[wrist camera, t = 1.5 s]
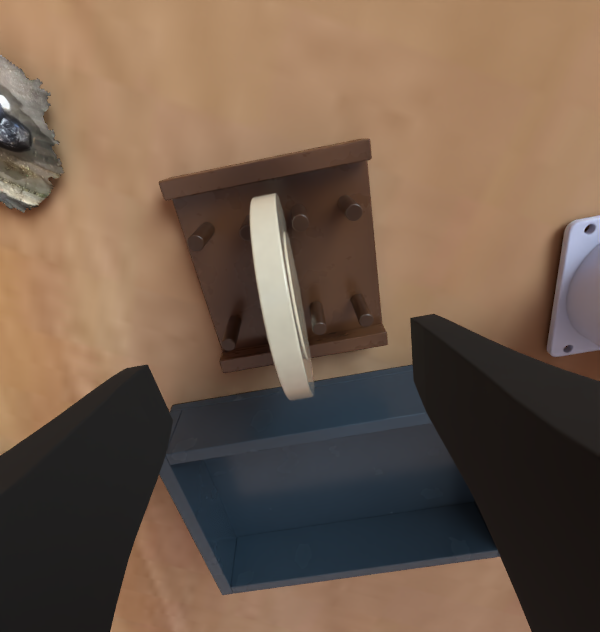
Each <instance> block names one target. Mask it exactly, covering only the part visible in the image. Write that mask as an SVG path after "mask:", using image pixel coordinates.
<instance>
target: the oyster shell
mask: <svg viewBox="0 0 600 632" xmlns="http://www.w3.org/2000/svg"><path fill="white" fill-rule="evenodd" d="M41 84H43V83H42V82H40V79H38V78H37V80H28V78H26V77H25V75H24V72H23V71H22V70H21V69H18V67H15V65H14V64H12V63H11V62H9V61H8V60H6V59H5V57H2V55H0V202H3V203H5V205H6V206H7V207H8V208H10V209H12V208H17V210H18V209H19V210H20V211H22V212H23V213H24V212H25V210H26V208H28V209H29V210H31V208H33V207H38V206H37V205H40V204H38V203H41V202H42V200H44V199H45V198H48V197H47V196H49V193H51V192H50V191H51V189H53V188H52V187H54V186H53V185H52V184H51V181H48V178H49V177H53V179H54V178H59V177H60V176H61V174H60V173H64V172H63V168H62V167H61V164H62V163H61V161H60V159H59V158H58V159H57V156H56V154H55V153H54V151H53V150H52V146H54V145H55V144H56V143H57V144H58V145H59V143H60V142H58V141H55V140H54V137H55V133H54V131H53V130H52V131H51V130H49V129H48V127H47V123H45V122H44V118H43V115H44V111H47V109H48V107H49V106H51V105H50V103H48V102H47V99H48V97H47V96H50V93H48V92H47V91H45V90H44V89H40V88H39V86H40V85H41ZM47 106H48V107H47ZM23 200H24V201H23Z"/></svg>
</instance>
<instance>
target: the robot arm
mask: <svg viewBox="0 0 600 632" xmlns="http://www.w3.org/2000/svg"><path fill="white" fill-rule="evenodd" d="M588 225H589V226H590V227H589V229H588V230H587V231H586V232H585V231H584V230H585V228H586V227H587V226H588ZM410 319H411V339H412V359H413V379H414V383H415V385H416V388H417V391H418V393H419V396H420V398H421V401H422V403H423V406H424V408H425V410H426V413H427V415H428V416H429V418H430V420H431V422H432V424H433V425H434V427H435V429H436V431H437V433H438V434H439V436H440V438H441V440H442V442H443V443H444V445H445V447H446V449H447V450H448V452H449V454H450V456H451V457H452V459H453V461H454V463H455V465H456V466H457V468H458V470H459V472H460V473H461V475H462V477H463V479H464V480H465V482H466V484H467V486H468V488H469V489H470V491H471V493H472V495H473V497H474V499H475V501H476V503H477V505H478V507H479V509H480V512H481V514H482V516H483V518H484V521H485V523H486V525H487V527H488V530H489V532H490V534H491V536H492V538H493V541H494V543H495V545H496V547H497V550H498V552H499V554H500V557H501V559H502V561H503V564H504V566H505V568H506V571H507V573H508V576H509V578H510V580H511V583H512V585H513V587H514V590H515V592H516V594H517V597H518V599H519V601H520V604H521V606H522V609H523V611H524V614H525V616H526V619H527V621H528V624H529V626H530V628H531V631H532V632H600V381H597V380H594V379H591V378H588V377H585V376H581V375H578V374H575V373H572V372H569V371H566V370H563V369H560V368H558V367H555V366H552V365H549V364H547V363H544V362H542V361H539V360H537V359H534V358H531V357H529V356H526V355H524V354H521V353H519V352H517V351H514V350H512V349H510V348H507V347H505V346H503V345H500V344H498V343H496V342H494V341H491V340H489V339H487V338H485V337H483V336H481V335H479V334H476V333H474V332H472V331H470V330H468V329H466V328H464V327H462V326H460V325H458V324H456V323H453V322H451V321H449V320H447V319H445V318H443V317H440V316H438V315H435V314H431V315H425V316H420V317H414V318H410ZM567 345H568V346H567ZM566 346H567V347H566ZM565 347H566V348H565ZM596 350H600V215H599V216H593V217H588V218H582V219H577V220H574V221H572V222H570V223H569V224H568V225H567V226H566V228H565V231H564V237H563V243H562V250H561V257H560V263H559V270H558V277H557V283H556V290H555V297H554V303H553V310H552V317H551V323H550V330H549V337H548V343H547V352H548V353H549V354H550V355H551V356H553V357H560V356H566V355H572V354H578V353H584V352H590V351H596ZM172 424H173V419H172V417H171V415H170V413H169V411H168V408H167V406H166V404H165V402H164V400H163V397H162V395H161V393H160V391H159V388H158V386H157V384H156V382H155V380H154V377H153V375H152V373H151V371H150V369H149V366H148V365H142V366H137V367H131V368H126V369H124V370H123V371H121V372H119V373H117V374H116V375H114V376H113V377H111V378H110V379H108V380H107V381H105V382H104V383H102V384H101V385H100V386H98V387H97V388H95V389H94V390H93V391H91V392H90V393H89V394H87V395H86V396H85V397H83V398H82V399H80V400H79V401H78V402H76V403H75V404H74V405H72V406H71V407H70V408H68V409H67V410H65V411H64V412H63V413H61V414H60V415H59V416H57V417H56V418H54V419H53V420H52V421H50V422H49V423H47V424H46V425H44V426H43V427H42V428H40V429H39V430H37V431H36V432H34V433H33V434H32V435H30V436H29V437H27V438H26V439H24V440H23V441H21V442H20V443H19V444H17V445H16V446H14V447H13V448H11V449H10V450H8V451H7V452H5V453H4V454H2V455H1V456H0V632H110V630H111V625H112V621H113V617H114V613H115V609H116V604H117V601H118V597H119V593H120V589H121V586H122V582H123V578H124V574H125V570H126V567H127V563H128V559H129V556H130V553H131V550H132V547H133V544H134V541H135V538H136V535H137V532H138V530H139V527H140V524H141V522H142V519H143V516H144V514H145V511H146V508H147V506H148V503H149V500H150V497H151V495H152V492H153V489H154V487H155V484H156V481H157V478H158V476H159V473H160V470H161V467H162V465H163V462H164V459H165V456H166V452H167V448H168V444H169V439H170V434H171V429H172Z"/></svg>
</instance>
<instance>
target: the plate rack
mask: <svg viewBox="0 0 600 632" xmlns="http://www.w3.org/2000/svg"><path fill="white" fill-rule="evenodd" d="M371 158H372V156H371V145H370V139H358V140H353V141H348V142H343V143H338V144H333V145H328V146H323V147H318V148H313V149H309V150H304V151H299V152H294V153H289V154H284V155H279V156H274V157H269V158H264V159H259V160H255V161H250V162H245V163H240V164H235V165H230V166H225V167H220V168H215V169H210V170H206V171H201V172H196V173H191V174H186V175H181V176H176V177H171V178H168V179H165V180H162V181H159V185H160V188H161V191H162V194H163V197H164V200H166V201H167V200H171V199H172V200H173V203H174V206H175V209H176V212H177V215H178V218H179V221H180V224H181V227H182V230H183V233H184V236H185V239H186V242H187V245H188V248H189V251H190V254H191V258H192V261H193V264H194V267H195V270H196V273H197V276H198V279H199V282H200V285H201V288H202V291H203V294H204V297H205V300H206V303H207V306H208V309H209V312H210V315H211V318H212V321H213V324H214V327H215V330H216V333H217V336H218V339H219V342H220V345H221V348H222V351H223V352H222V355H221V359H220V364H221V367H222V370H223V373H227V372H233V371H239V370H244V369H250V368H256V367H262V366H268V365H273V364H274V362H273V359H272V355H271V351H270V347H269V343H268V339H267V335H266V330H265V326H264V321H263V316H262V311H261V306H260V301H259V295H258V290H257V284H256V277H255V271H254V264H253V256H252V247H251V237H250V221H249V212H250V202H251V199H252V198H253V197H255V196H260V195H265V194H270V193H277V195H278V197H279V199H280V202H281V205H282V209H283V213H284V217H285V221H286V225H287V229H288V234H289V238H290V243H291V247H292V252H293V257H294V262H295V267H296V272H297V277H298V282H299V288H300V293H301V299H302V304H303V310H304V316H305V322H306V328H307V334H308V341H309V347H310V354H311V358H314V357H320V356H326V355H331V354H337V353H343V352H349V351H355V350H361V349H366V348H372V347H378V346H384V345H387V344H388V342H387V332H386V330H385V328H384V326H383V324H382V317H381V306H380V295H379V284H378V273H377V262H376V251H375V241H374V230H373V219H372V208H371V197H370V186H369V175H368V164H367V160H370V159H371Z"/></svg>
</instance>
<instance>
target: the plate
mask: <svg viewBox="0 0 600 632" xmlns="http://www.w3.org/2000/svg"><path fill="white" fill-rule="evenodd" d="M249 221H250V237H251V247H252V256H253V264H254V271H255V277H256V284H257V290H258V295H259V301H260V306H261V311H262V316H263V321H264V326H265V330H266V335H267V339H268V343H269V347H270V351H271V355H272V359H273V362H274V366H275V369H276V372H277V376H278V378H279V381H280V384H281V387H282V389H283V391H284V393H285V395H286V397H287V398H288V399H289V400H290V401H296V400H302V399H308V398H312V397H314V379H313V369H312V362H311V354H310V347H309V341H308V334H307V328H306V322H305V316H304V310H303V304H302V299H301V293H300V288H299V282H298V277H297V272H296V267H295V262H294V257H293V252H292V247H291V243H290V238H289V234H288V229H287V225H286V221H285V217H284V213H283V209H282V205H281V202H280V199H279V197H278V195H277V193H270V194H265V195H260V196H255V197H253V198H252V199H251V202H250V212H249Z"/></svg>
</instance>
